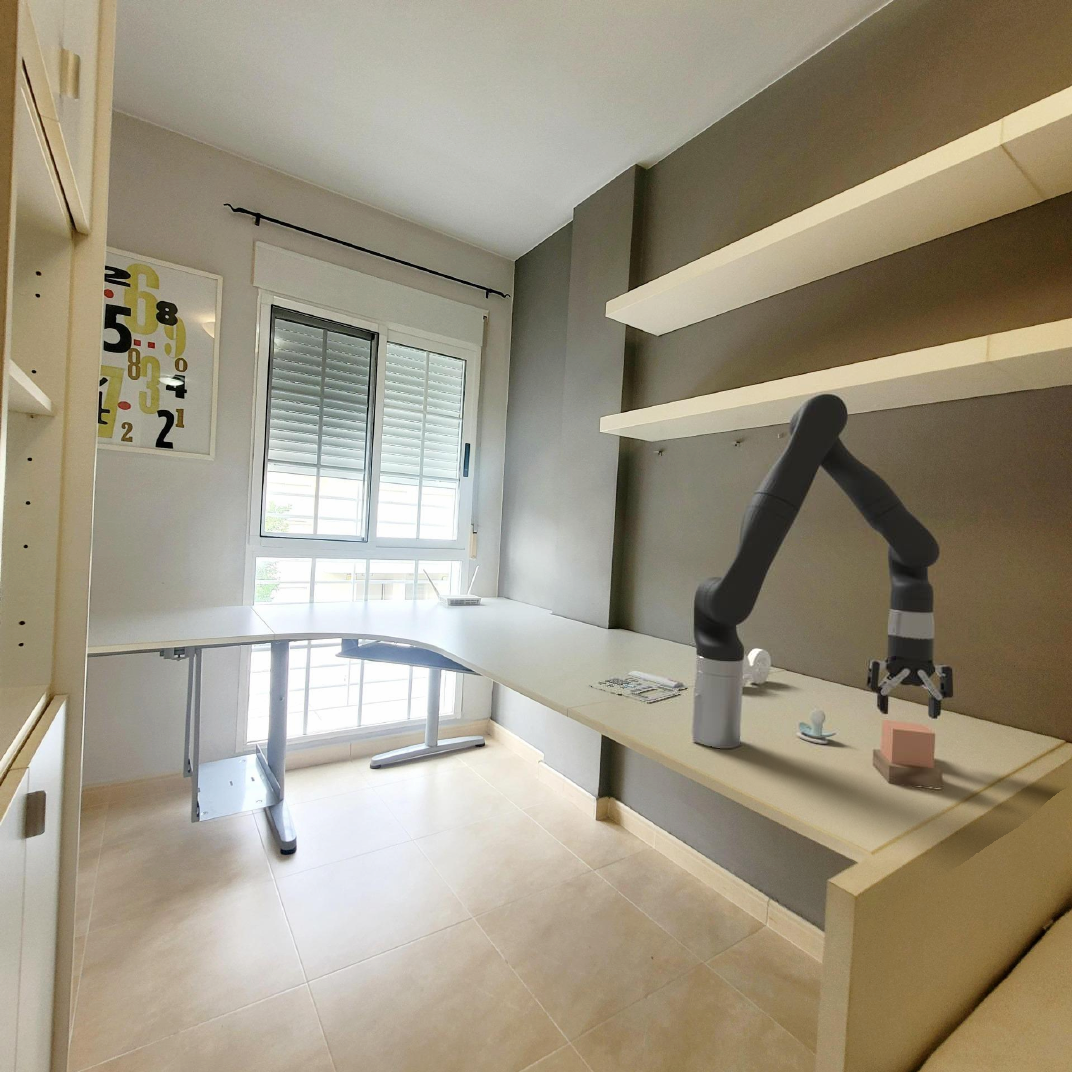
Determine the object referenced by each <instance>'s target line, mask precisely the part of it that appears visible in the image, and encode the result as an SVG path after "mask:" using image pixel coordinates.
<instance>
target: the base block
mask: <svg viewBox="0 0 1072 1072" xmlns="http://www.w3.org/2000/svg"><path fill="white" fill-rule="evenodd" d="M872 766H873V767H874V768H875V770H876V771H877V772H879V773H878V774H880V775H881V776H882V777H883V778H884V779H885V781H886V782H887V783H888V784H894V785H901V784H904V785H903V786H908V785H910V786H909V787H915V786H921V787H920V788H922V787H932V788H942V789H943V772H942V771H941V770H940V769H939V768H938V767H936V765H934V768H928V767H920V766H912V765H904V764H896V763H891V762H890V761H889V760H888V759H887V758H886V757H885V756H884V755H883V754H882V753H881V749H877V748H873V750H872Z"/></svg>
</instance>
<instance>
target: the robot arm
mask: <svg viewBox="0 0 1072 1072" xmlns="http://www.w3.org/2000/svg"><path fill="white" fill-rule="evenodd" d="M848 416H849V415H848V409H847V406H846V403H845V401H843V400H842V399H841V397H839V396H838V395H835V394H832V393H831V394H830V393H823V394H818V395H815V396H814V397H813V396H812V398H810V399H808V400H807V401H805V402H804V403H803V404H802V406H801V407H800V408H798V410H796V412H795V413H794V414H793V415H792V417H791V419H790V422H789V425H788V426H789V433H790V436H791V437H790V439H789V441H788V442H787V445H786V447H785V449H784V450H783V452H782V454H781V455H780V457H779V458H778V459H777V460H776V461H775V463H774V464H773V465H772V467H771V468H770V470H769V471H768V472H767V474H766V475H765V476H764V477H763V479H762V480H761V482H760V483H759V485H758V487H757V489H756V491H755V492H754V494H753V495H752V498H751V500H750V501H749V503H748V504H747V507H746V509H745V511H744V514H743V516H742V520H741V525H740V530H739V531H740V532H739V541H738V547H737V551H736V553H735V556H734V557H733V559H732V562H731V563H730V565H729V566H728V568H727V570H726V572H725V573H724V574H723V576H722V577H719V576H713V577H708V578H707V579H704V580H703V581H701V583H700V584H699V586H698V587H697V589H696V591H695V594H694V601H693V639H694V642H695V646H696V647H695V648H696V652H695V654H696V655H695V656H696V657H695V674H694V676H695V679H694V688H693V702H692V703H693V706H692V708H693V709H692V723H691V726H692V727H691V728H692V729H691V735H692V736H693V737H692V736H691V737H692V742H693V741H694V742H693V743H697V742H698V744H701V745H703V744H704V746H706V747H707V746H708V747H710V746H712V747H711V748H717V749H735V748H738V747H739V746H740V744H741V730H742V729H741V726H742V725H741V724H742V709H743V708H742V707H743V706H742V704H743V688H744V687H743V665H744V654H745V647H744V644H743V643H742V641H741V639H740V637H739V635H738V631H737V626H738V625H740V624H742V623H743V622H745V621H746V620H747V618H748V617H749V616H750V615H751V614H752V611H754V610H753V609H754V607H755V605H756V602H757V600H758V597H759V594H760V592H761V591H762V590H761V589H762V587H763V585H764V582H765V579H766V576H767V574H768V572H769V569H770V567H771V565H772V563H773V561H774V559H775V558H776V556H777V554H778V552H779V550H780V548H781V547H782V544H783V542H784V541H785V538H786V536H787V535H788V534H789V532H790V530H791V528H792V525H794V522H795V521H796V518H797V517H798V514H799V513H800V510H801V508H802V506H803V504H804V502H805V500H806V497H807V496H808V493H809V491H810V489H811V487H812V484H813V481H814V480H815V477H816V475H817V472H818V470H819V468H820V467H821V468H822V469H823V470H824V471H825V472H826V473H827V474H828V475H829V476H830V477H831V478H832V480H833V481H834V482H835V483H836V484H837V485H838V486H839V488H840V489H841V490H842V491H843V493H844V494H846V495H847V498H849V500H850V501H851V502H852V504H853V506H854V507H855V508H856V509H857V510H858V512H859V513H860V514H861V515H862V517H863V518H864V520H865V521H866V523H867V524H869V525H868V526H870V527H871V528H872V529H873V530H874V531H875V532H876V531H877V532H878V533H879V534H880V535H881V536H882V537H883V538H884V539H885V541H886V542H887V543H888V545H889V546H888V550H887V561H888V570H889V577H890V585H891V586H890V587H891V589H890V599H889V601H890V605H889V615H888V623H887V649H886V651H887V653H886V657H887V658H886V660H885V661H882V660H881V661H880V660H876V659H874V658H870V659H869V660H868V667H867V675H866V687H867V689H869V690H871V691H872V692H875V693H876V694H877V695H876V707H877V709H878V710H879V711H880V713H881V714H882V715H888V714H889V695H888V694H889V693H890V692H891V690H892V689H895V688H896V687H897V686H898V685H899V684H900V685H901V686H910V685H911V686H914V687H921V686H922V687H923V688H924V690H926V692H927V693H928V694H929V695H930V696H928V704H927V705H928V708H927V710H928V711H927V712H928V713H927V715H928V717H929V718H931V719H934V720H937V719H938V717H940V716H941V714H942V713H941V712H942V711H941V710H942V700H944V699H946V698H949V699H951V698H953V697H954V680H953V679H954V678H953V668H952V667H950V666H949V665H946V664H945V663H941V664H940V665H937V664H936V665H934V661H933V660H934V652H935V651H934V649H935V648H934V647H935V645H934V644H935V632H936V631H935V619H934V589H933V588H934V587H933V585H931V583H930V581H929V574H928V573H929V570H928V567H930V566H933V565H934V564H935V563H937V561H938V559H939V556H940V551H941V550H940V546H939V544H938V542H937V539H936V538H935V537H934V535H933V534H932V533H931V532H930V531H929V529H927V527H926V526H924V525H923V523H921V522H920V520H919V519H917V518H916V517H915V516H914V515H913V514H912V513H911V512H910V511H909V510H908V509H907V508H906V506H905V505H904V504H903V502H902V500H901V499H900V498H899V496H898V495H897V494H896V493H895V491H894V490H893V489H892V487H891V486H890V485H889V484H888V483H887V482H886V481H885V480H884V479H883V478H882V477H881V476H880V475H879V474H878V473H876V471H874V470H872V469H870V467H868V466H867V465H865V464H864V463H863V462H861V461H860V460H859V459H857V458H856V456H854V455H853V454H852V453H851V452H850V451H849V450H848V449H847V447H846V446H845V445H844V443H843V441H842V440H841V438H840V435H841V433H842V432H843V431H844V430H845V428H846V425H847V423H848V422H847V421H848ZM883 669H886V671H887V672H888V673H887V675H885V676H884V678H883V679H882V681H881V682H880V683H879V676H880V673H882V671H883ZM934 673H936V675H937V676H938V677H939V689H938V688H937V687H936V685H935V684H934V682H932V680H931V679H930V678H931V677H932V676H933V675H934ZM742 687H743V688H742ZM737 746H738V747H737Z"/></svg>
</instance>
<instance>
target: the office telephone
mask: <svg viewBox="0 0 1072 1072" xmlns="http://www.w3.org/2000/svg"><path fill="white" fill-rule="evenodd" d="M627 675H628V676H632V677H635V678H639V679H643V680H638V679H633V678H631V677H630V678H625V680H622V679H619V678H613V677H612V678H613V679H608V678H606V679H607V680H605V682H604V683H603V682H598V683H599V684H600V685H601V684H606V682H609V683H613V684H617V685H619V686H620V685H622V687H620V688H623V689H624V688H627V687H628V688H629V687H630V688H631V689H633V688H634V689H635V690H621V691H622V692H625V693H627V692H628V693H629V694H628V693H627V694H628V695H632V696H635V697H639V698H642V699H644V700H645V701H651V700H656V699H658V698H662V697H666V696H671V695H675V694H677V693H680V694H681V692H680V691H675V690H671V689H667V688H664V687H668V688H672V689H681V688H685V687H687V688H688V686H687V685H684V683H683V682H681V681H676V680H674V679H669V678H665V677H663V676H662V677H661V676H658V675H654V674H650V673H646V672H642V671H638V670H632V671H630V672H629V673H628V674H627ZM628 679H633V680H629V681H631V682H633V681H634V682H638V681H640V682H643V683H645V682H648V681H650V682H653V683H657V684H661V685H660V686H664V687H660V686H657V685H642V684H641V683H636V685H634V684H629V683H631V682H629V681H628ZM613 684H609V685H605V686H607V687H608V686H610V687H614V686H613ZM623 684H627V685H624V686H623ZM645 684H646V683H645ZM653 687H655V688H658V689H662V690H664V691H668V692H670V693H664V694H660V695H656V696H651V697H649V696H646V695H643V694H641V693H639V694H637V693H636V694H635V693H633V692H637V691H642V689H643V690H644V689H649V688H653ZM639 688H640V689H639ZM616 691H617V690H616ZM618 691H620V690H618Z"/></svg>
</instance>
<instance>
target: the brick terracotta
mask: <svg viewBox="0 0 1072 1072" xmlns="http://www.w3.org/2000/svg"><path fill="white" fill-rule="evenodd" d="M896 721H897V720H896ZM896 721H895V720H889V721H887V720H885V719H883V720H882V721H881V723H882V724H881V742H880V745H881V746H880V750H881V753H882V754H883V755H884V756H885V757H886V758H887V759H888V760H889V761H890V762H891V763H896V764H904V765H912V766H920V767H928V768H934V766H935V749H936V733H935V732H933V731H932V730H931V729H929V727H926V726H925V725H924V724H921V723H913V722H906V723H905V722H903V721H897V722H896Z"/></svg>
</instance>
